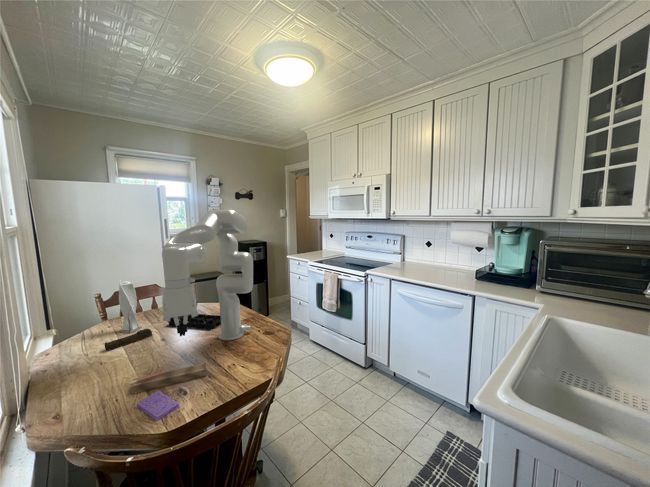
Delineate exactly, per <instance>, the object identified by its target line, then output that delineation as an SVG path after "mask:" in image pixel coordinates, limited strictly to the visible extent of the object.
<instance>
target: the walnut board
mask: <svg viewBox="0 0 650 487" xmlns="http://www.w3.org/2000/svg"><path fill="white" fill-rule="evenodd" d="M147 376H148V375H146V376H141V377H137V378H133V379H132V381H135V380H137V379H140V378H143V377H147ZM206 376H207V363H206V362H204V363H200V364H195V365H191V366H187V367H186V366H185V367H181V368H178V369H173V370H169V371H166V374H164V375H161V376H158V377H155V378H151V379H148V380H145V381H142V382H139V383H135V384H132V382H131V384H130V386H129V392H130V395H133V394H136V393H141V392H144V391H149V390H154V389H157V388H161V387H166V386H169V385H173V384H178V383H182V382H185V381H191V380H195V379H198V378H203V377H206Z"/></svg>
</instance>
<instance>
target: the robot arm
mask: <svg viewBox="0 0 650 487" xmlns="http://www.w3.org/2000/svg"><path fill="white" fill-rule="evenodd" d="M248 227H249V224H248V221H247V219H246V217H245V216H244V215H242V214H240V213H239V212H238V211H236V210H233V209H212V210H208V211H207V212H206V213H205V214H204V215H203V217H202V218H200V220H199V221H198V222H197V224H196V225H193V226H191V227H188V228H186V229H184V230H183V231H182V230H181V231H180V232H178V233H176V234H175V235H173V236H172V237H170V239H169V240H168V241H166V243H165V244H164V246H163V248H162V251H161V258H162V267H163V275H164V276H163V277H164V287H163V289H162V298H161V299H162V302H161V303H162V304H161V305H162V315H163V317H162V321H163V322H167V321H171V322H172V323H174V324H175V325H176V326H175V327H176V333H177V334H179V337H182V336H183V337H184V336H186V333H187V332H188V328H187V322H188V321H189V320H190V319H191V318H192V317H195V316H198V314H199V311H198V303H197V302H198V301H197V296H196V290H195V287H194V284H192V283H195V281H196V278H195V277H191V274H190V266H191V265H196V264H200V263H202V262H204V260H205V258H206V256H207V250H206V248H205V246H204V244H207V243H209V242H212V241H213V240H214V239H215V237H217V239H218V242H219V266H220V269H221V270H222V271H225V272H241V273H224V274H221V275H219V276H218V277H217V278H216V280H215V287H216V291H217V295H218V301H219V302H218V303H219V316H220V320H221V324H220V331H219V333H218V334H217V338H218V339H219V340H222V341H234V340H237V339H239V338H241V337H243V336H244V335H245V331H246V330H247V331H248V330H251V329H252V328H251V325H249V324H242V322H241V321H242V320H241V307H240V306H241V303H240V299H239V296H238V295H237V294H248V293H250V292H252V290H253V286H254V258H253V256H252V254H251V253H250V252H247V251H239V242H238V240H237V238H236V237H235V236H234V235H242V234H245V233H246V232H247V231H248ZM196 301H197V302H196ZM180 316H184V320H183V322H182V323H181V321H180V319H179V317H180Z"/></svg>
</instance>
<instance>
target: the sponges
mask: <svg viewBox="0 0 650 487" xmlns="http://www.w3.org/2000/svg"><path fill="white" fill-rule="evenodd" d="M136 407H137V408H138V409H140V410H142V411H143V412H144V413H146V415H148V416H149V417H150V418H152V419H154V420H155V421H156V422H158V421H159V420H161V419H162V418H163V417H164V418H165V417H166V416H167V415H168V414H170V413H171V412H173V411H174V410H176V409H178V408H179V407H180V403H179V402H178V401H176V400H174V399H173V398H171V397H170V396H168V395H166V394H165V393H164V392H162V391H160V390H155V392H153V393H152V394H149V395H148V396H147V397H145V398H143V399H141V400H139V401H138V402H136Z"/></svg>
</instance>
